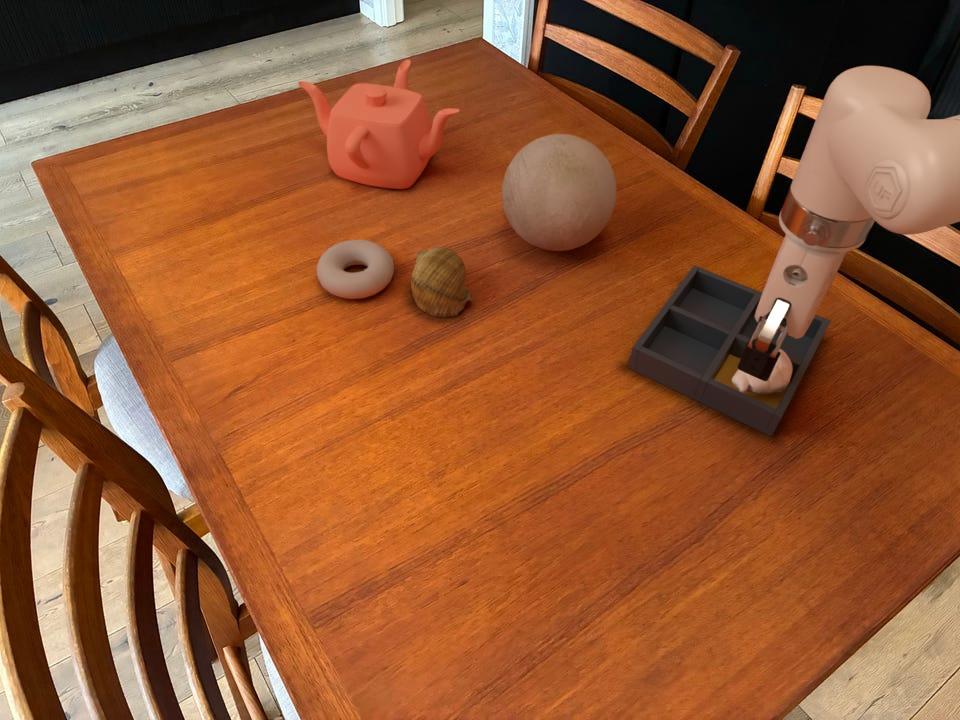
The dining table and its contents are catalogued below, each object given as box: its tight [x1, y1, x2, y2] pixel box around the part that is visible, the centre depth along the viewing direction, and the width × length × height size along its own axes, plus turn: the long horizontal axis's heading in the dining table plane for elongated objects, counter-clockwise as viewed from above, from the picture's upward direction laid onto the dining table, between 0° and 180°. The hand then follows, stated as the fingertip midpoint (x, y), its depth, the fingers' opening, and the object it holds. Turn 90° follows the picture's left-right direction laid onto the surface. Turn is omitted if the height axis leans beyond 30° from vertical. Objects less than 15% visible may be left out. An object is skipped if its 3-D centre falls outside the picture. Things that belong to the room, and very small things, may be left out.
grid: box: [627, 264, 832, 437], centre depth 86 cm, size 17×17×4 cm
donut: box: [316, 238, 395, 300], centre depth 94 cm, size 10×4×10 cm
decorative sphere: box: [501, 133, 618, 252], centre depth 96 cm, size 15×15×15 cm
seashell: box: [410, 246, 473, 319], centre depth 92 cm, size 10×7×8 cm
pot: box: [297, 59, 460, 190], centre depth 108 cm, size 18×17×12 cm
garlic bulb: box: [732, 349, 793, 394], centre depth 80 cm, size 6×6×5 cm
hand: (769, 345), depth 77 cm, fingers open, 9 cm apart
